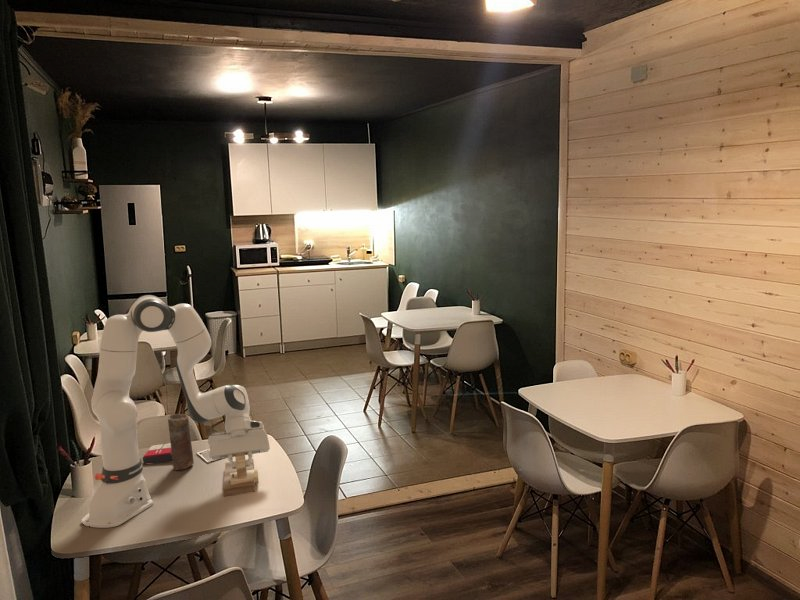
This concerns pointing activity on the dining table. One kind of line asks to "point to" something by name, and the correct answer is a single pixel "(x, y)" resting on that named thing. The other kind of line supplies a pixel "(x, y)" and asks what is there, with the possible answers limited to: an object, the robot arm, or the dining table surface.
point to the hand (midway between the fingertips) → (241, 467)
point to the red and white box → (158, 454)
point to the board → (236, 488)
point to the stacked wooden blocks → (243, 471)
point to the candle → (180, 441)
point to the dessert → (203, 457)
